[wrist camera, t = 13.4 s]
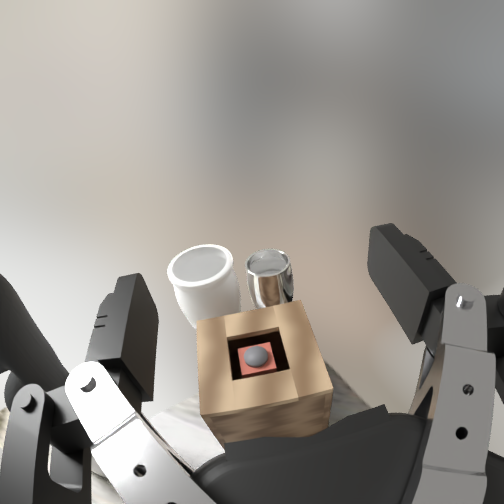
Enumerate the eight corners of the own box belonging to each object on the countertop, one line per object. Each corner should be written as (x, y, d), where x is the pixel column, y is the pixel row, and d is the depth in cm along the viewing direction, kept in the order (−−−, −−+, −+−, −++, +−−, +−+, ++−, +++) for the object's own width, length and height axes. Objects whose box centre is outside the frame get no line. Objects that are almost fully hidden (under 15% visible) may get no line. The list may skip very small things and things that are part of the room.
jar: (182, 326, 58) (156, 263, 49) (226, 299, 62) (210, 236, 54) (210, 361, 51) (185, 296, 42) (259, 329, 55) (246, 262, 46)
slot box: (226, 452, 37) (200, 415, 29) (217, 373, 48) (196, 320, 41) (326, 432, 37) (333, 388, 30) (303, 356, 49) (300, 299, 41)
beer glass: (303, 335, 52) (299, 267, 44) (265, 350, 51) (252, 283, 42) (287, 310, 58) (280, 242, 49) (251, 322, 57) (237, 256, 48)
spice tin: (254, 414, 41) (241, 372, 34) (250, 391, 44) (236, 345, 37) (282, 408, 41) (275, 365, 34) (277, 386, 44) (269, 339, 37)
